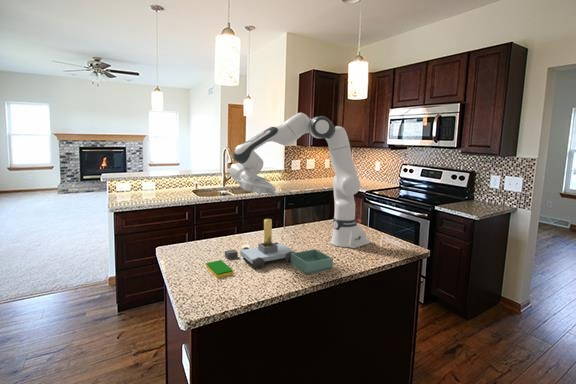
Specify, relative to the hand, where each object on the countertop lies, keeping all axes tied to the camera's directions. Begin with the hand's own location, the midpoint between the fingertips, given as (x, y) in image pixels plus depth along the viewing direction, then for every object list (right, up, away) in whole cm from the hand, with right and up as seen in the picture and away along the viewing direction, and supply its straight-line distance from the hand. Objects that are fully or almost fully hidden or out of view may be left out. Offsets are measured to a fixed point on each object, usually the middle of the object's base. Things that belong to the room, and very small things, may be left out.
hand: (267, 193), depth 155 cm
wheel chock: (-18, -31, +1) cm, 35 cm away
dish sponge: (-20, -34, -15) cm, 42 cm away
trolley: (0, -31, -2) cm, 31 cm away
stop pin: (0, -27, -3) cm, 27 cm away
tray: (+20, -33, -10) cm, 40 cm away
